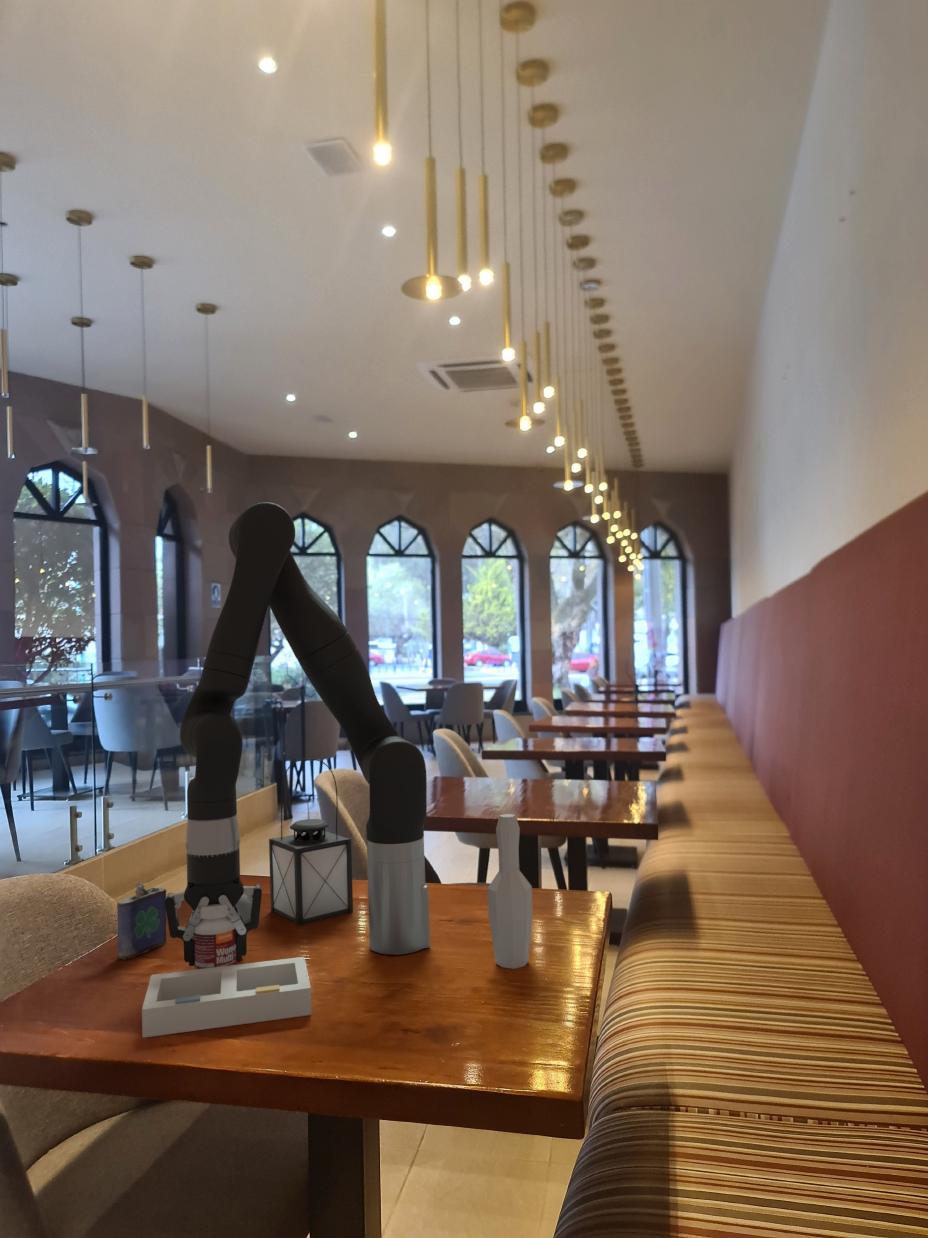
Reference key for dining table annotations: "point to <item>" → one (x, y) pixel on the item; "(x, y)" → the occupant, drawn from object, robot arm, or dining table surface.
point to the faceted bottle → (510, 900)
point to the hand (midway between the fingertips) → (215, 961)
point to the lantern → (310, 871)
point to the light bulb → (244, 907)
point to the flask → (141, 922)
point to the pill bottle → (215, 939)
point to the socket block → (226, 996)
